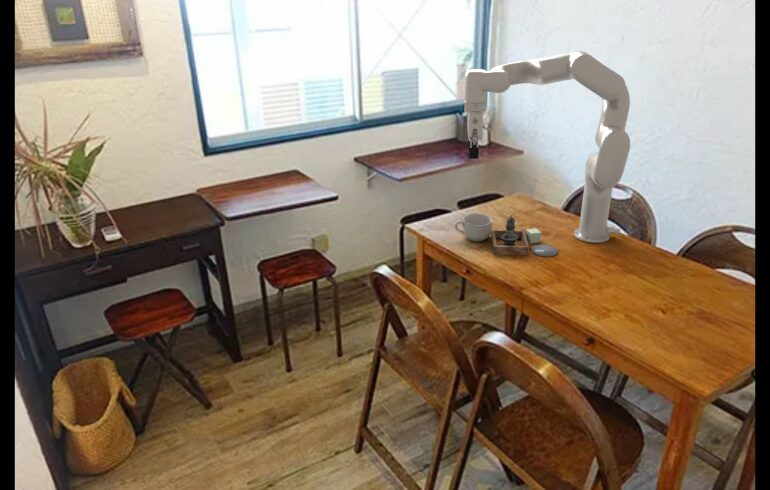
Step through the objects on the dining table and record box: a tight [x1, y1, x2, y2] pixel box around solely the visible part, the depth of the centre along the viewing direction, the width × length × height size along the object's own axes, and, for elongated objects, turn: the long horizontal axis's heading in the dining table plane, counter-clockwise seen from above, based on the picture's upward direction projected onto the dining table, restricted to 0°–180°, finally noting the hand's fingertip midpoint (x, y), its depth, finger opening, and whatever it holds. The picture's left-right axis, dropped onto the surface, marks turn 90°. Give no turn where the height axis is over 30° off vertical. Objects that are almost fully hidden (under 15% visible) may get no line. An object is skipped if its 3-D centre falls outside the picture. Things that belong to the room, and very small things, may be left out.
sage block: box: [525, 228, 542, 244], centre depth 211 cm, size 4×4×4 cm
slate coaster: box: [530, 243, 559, 258], centre depth 203 cm, size 9×9×1 cm
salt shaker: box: [501, 215, 518, 246], centre depth 205 cm, size 6×6×12 cm
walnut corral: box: [490, 229, 530, 256], centre depth 207 cm, size 12×15×3 cm
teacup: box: [454, 212, 493, 242], centre depth 213 cm, size 14×11×8 cm
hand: (473, 154), depth 205 cm, fingers open, 9 cm apart
